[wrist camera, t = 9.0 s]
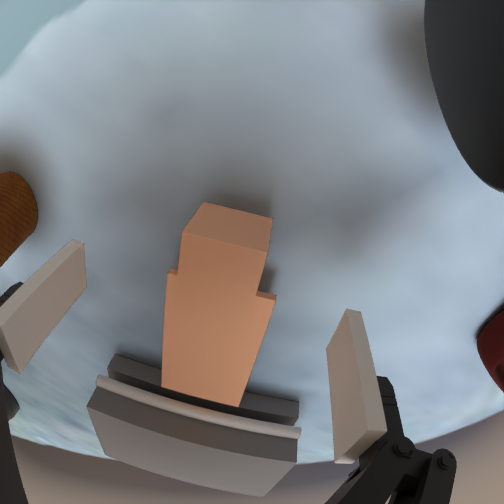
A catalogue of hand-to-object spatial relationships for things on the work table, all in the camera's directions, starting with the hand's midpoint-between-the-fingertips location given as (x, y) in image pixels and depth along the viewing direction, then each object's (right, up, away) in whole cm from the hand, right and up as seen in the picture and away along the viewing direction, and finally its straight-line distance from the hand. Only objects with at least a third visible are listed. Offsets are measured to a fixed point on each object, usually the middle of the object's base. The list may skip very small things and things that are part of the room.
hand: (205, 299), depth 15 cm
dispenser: (-4, -15, +17) cm, 23 cm away
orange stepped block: (0, -3, +7) cm, 8 cm away
